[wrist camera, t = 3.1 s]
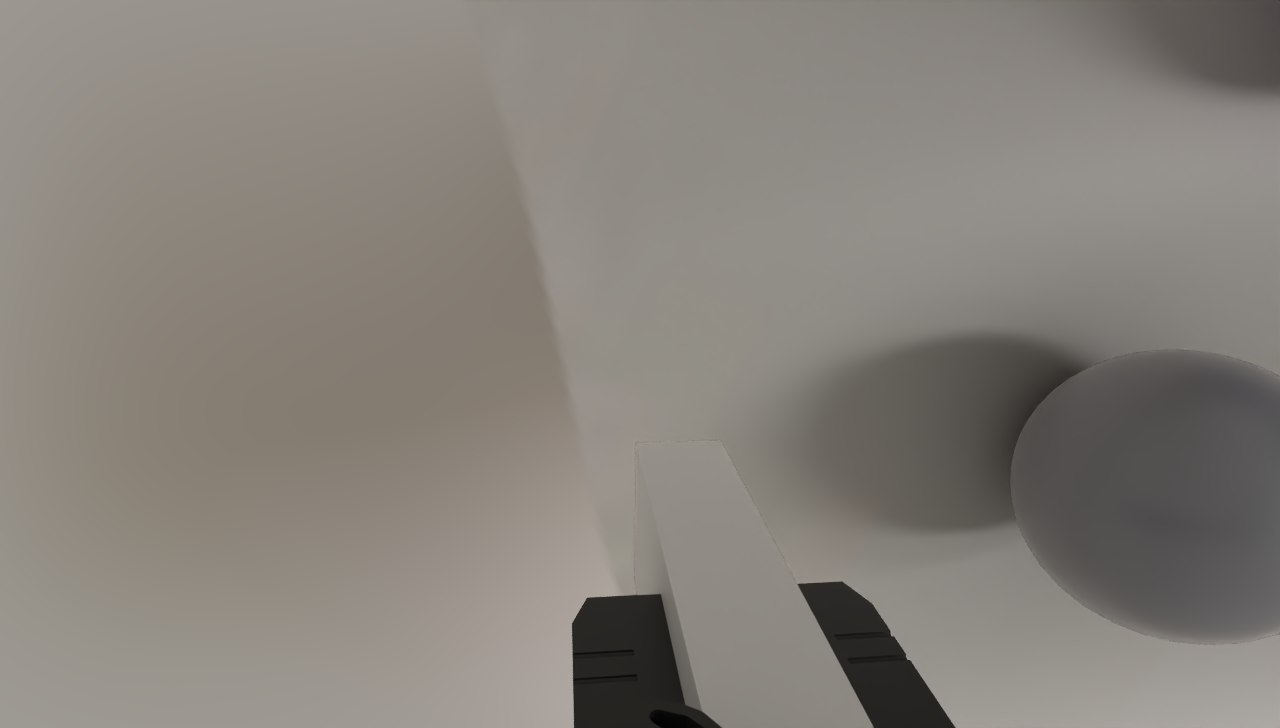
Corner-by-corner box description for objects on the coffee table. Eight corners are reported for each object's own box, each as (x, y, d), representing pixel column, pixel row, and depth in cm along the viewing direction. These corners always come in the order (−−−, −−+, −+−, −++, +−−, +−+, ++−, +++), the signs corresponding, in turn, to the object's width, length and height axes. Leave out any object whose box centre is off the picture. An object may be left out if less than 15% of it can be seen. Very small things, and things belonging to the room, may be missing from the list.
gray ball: (1233, 365, 16) (1548, 470, 11) (1109, 566, 18) (1338, 745, 12) (1033, 285, 15) (1277, 359, 10) (918, 505, 17) (1079, 673, 11)
